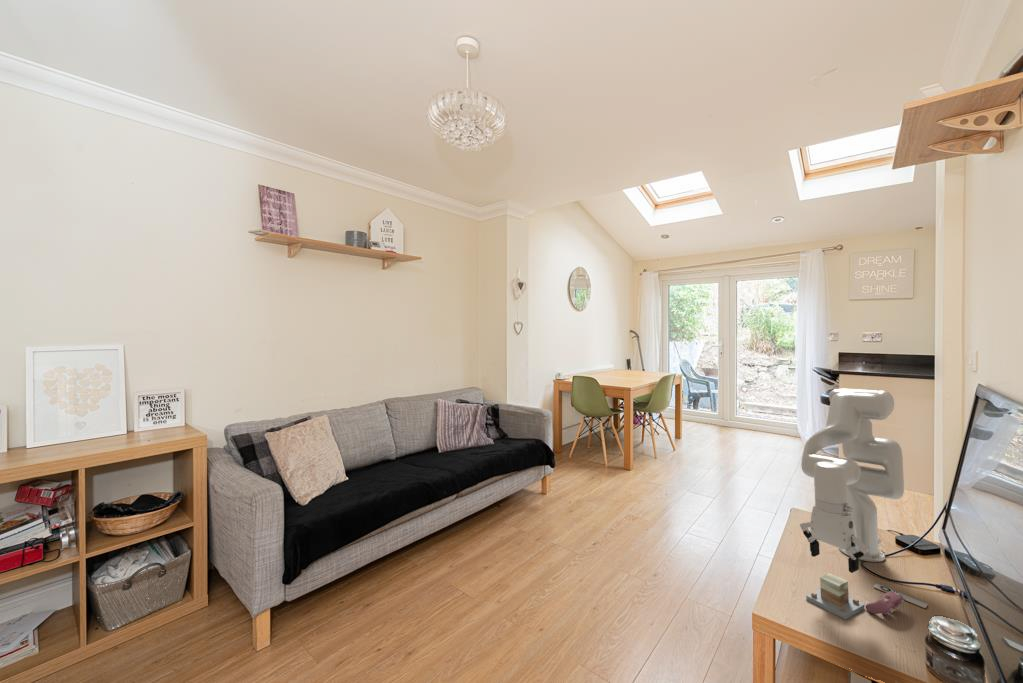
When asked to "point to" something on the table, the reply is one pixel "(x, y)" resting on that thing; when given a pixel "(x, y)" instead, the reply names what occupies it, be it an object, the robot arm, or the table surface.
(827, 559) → the table surface
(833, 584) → the block stack
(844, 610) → the board
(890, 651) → the table surface
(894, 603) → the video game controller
